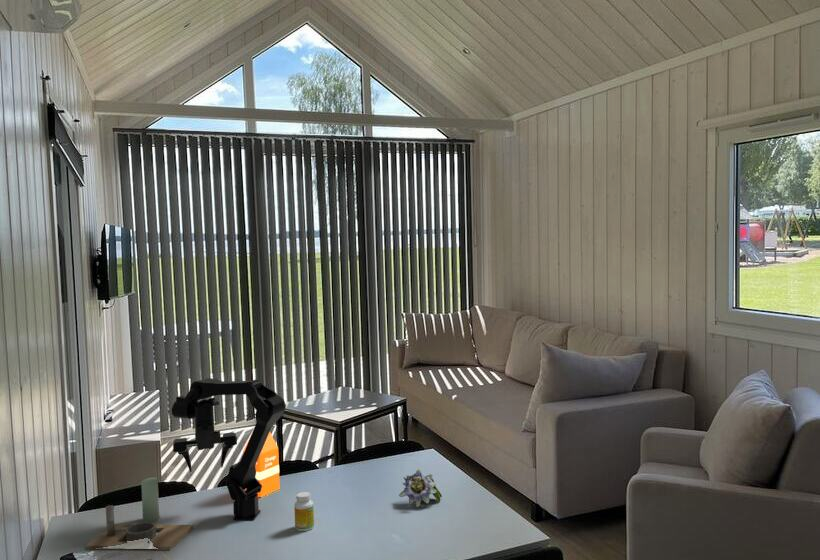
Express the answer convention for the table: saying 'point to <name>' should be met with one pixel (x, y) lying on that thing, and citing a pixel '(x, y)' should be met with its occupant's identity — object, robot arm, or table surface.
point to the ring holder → (139, 533)
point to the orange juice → (268, 467)
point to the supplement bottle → (304, 512)
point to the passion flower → (419, 488)
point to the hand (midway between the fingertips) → (206, 469)
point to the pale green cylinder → (150, 499)
